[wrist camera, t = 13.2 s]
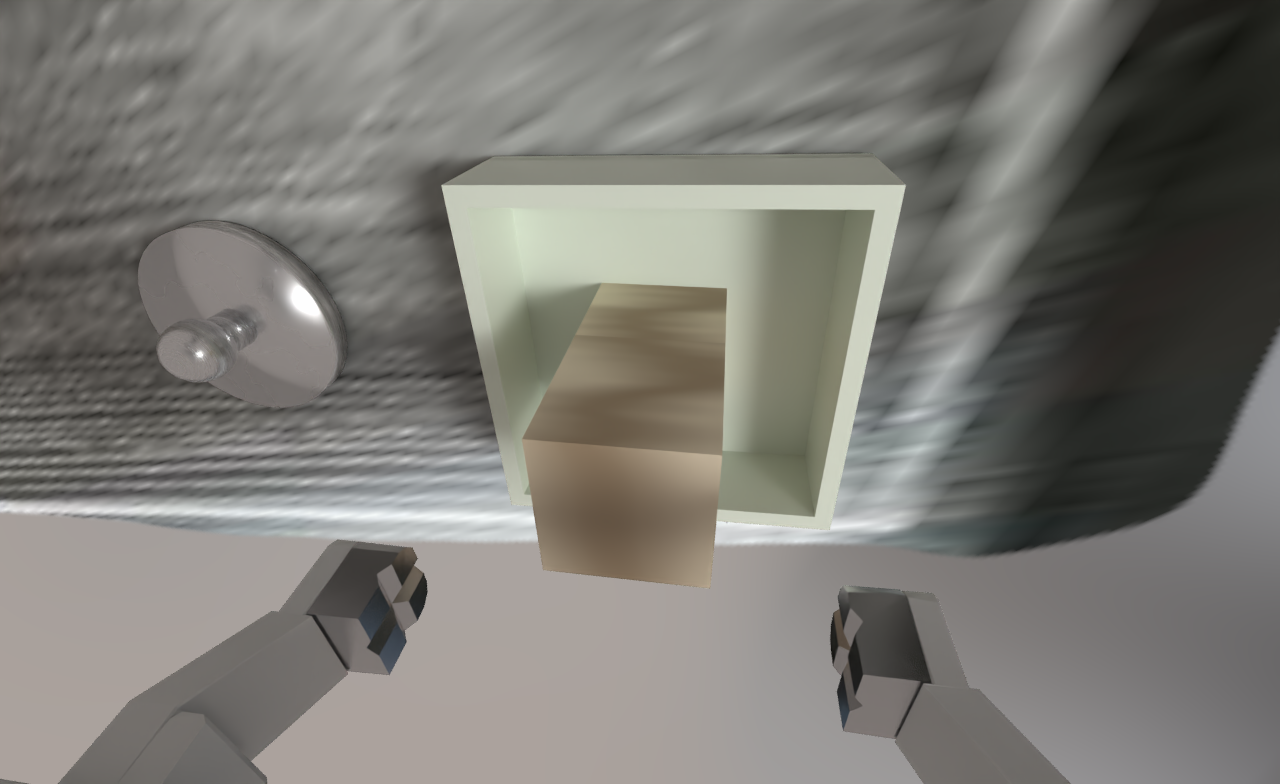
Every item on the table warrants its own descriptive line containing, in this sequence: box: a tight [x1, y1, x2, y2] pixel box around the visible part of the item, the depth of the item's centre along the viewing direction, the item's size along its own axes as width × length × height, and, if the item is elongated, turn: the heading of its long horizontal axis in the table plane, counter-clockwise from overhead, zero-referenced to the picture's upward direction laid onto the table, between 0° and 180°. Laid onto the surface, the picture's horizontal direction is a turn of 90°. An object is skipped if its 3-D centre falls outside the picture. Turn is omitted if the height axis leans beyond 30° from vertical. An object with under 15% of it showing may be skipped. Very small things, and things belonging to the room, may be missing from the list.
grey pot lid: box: [138, 221, 348, 408], centre depth 22 cm, size 8×8×4 cm
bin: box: [441, 153, 906, 530], centre depth 19 cm, size 12×12×4 cm
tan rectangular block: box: [522, 283, 727, 588], centre depth 17 cm, size 4×4×9 cm
